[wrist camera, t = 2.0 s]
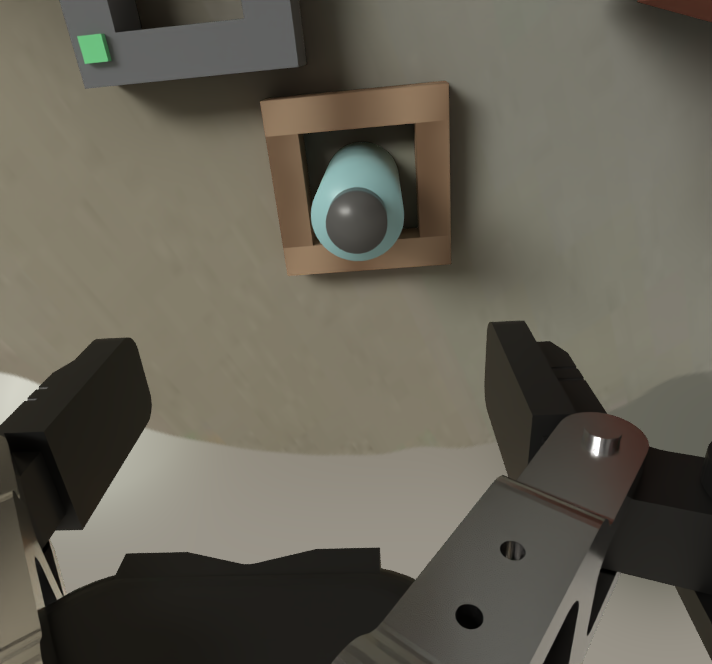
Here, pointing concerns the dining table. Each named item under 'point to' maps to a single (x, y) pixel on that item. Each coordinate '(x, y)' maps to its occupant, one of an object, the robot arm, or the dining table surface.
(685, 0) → the potted plant
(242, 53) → the port
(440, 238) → the square wooden frame
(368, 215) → the teal capped bottle
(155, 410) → the dining table surface
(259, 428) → the dining table surface
